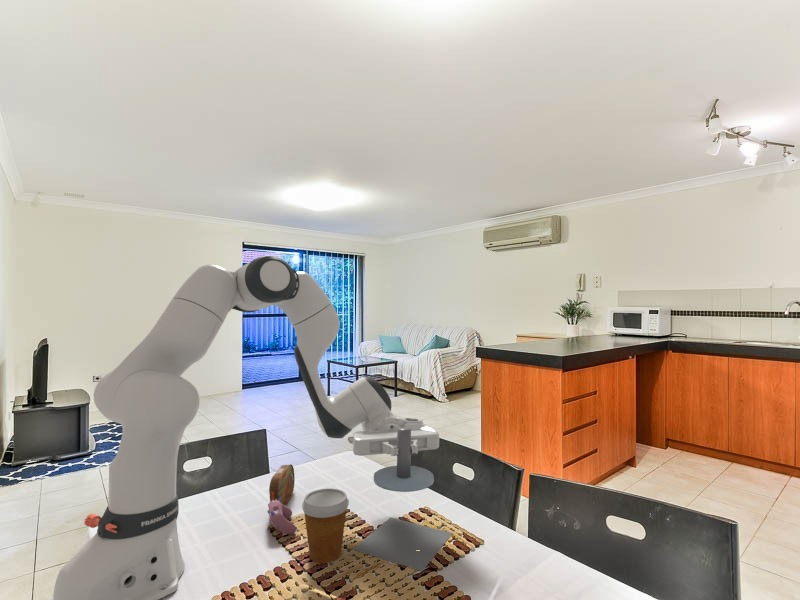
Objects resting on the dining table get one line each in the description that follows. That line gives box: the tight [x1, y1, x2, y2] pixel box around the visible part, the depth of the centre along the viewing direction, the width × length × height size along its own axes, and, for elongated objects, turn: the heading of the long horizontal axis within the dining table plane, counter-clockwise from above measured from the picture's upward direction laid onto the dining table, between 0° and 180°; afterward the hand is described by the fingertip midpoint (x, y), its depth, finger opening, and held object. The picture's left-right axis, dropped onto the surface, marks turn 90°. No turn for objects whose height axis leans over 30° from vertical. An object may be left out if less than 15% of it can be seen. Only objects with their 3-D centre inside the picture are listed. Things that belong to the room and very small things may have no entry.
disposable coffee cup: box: [301, 488, 350, 564], centre depth 89 cm, size 10×10×12 cm
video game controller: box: [266, 499, 297, 536], centre depth 101 cm, size 10×5×7 cm, turn 20°
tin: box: [268, 464, 295, 507], centre depth 114 cm, size 15×3×8 cm, turn 179°
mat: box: [352, 517, 454, 572], centre depth 93 cm, size 16×16×1 cm
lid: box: [373, 427, 435, 493], centre depth 94 cm, size 13×13×11 cm
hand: (405, 451), depth 93 cm, fingers closed on lid, 3 cm apart
